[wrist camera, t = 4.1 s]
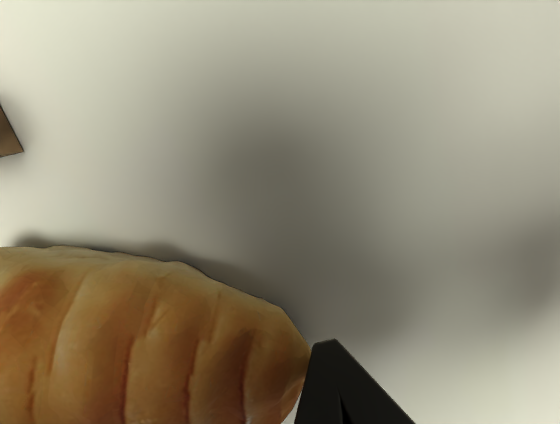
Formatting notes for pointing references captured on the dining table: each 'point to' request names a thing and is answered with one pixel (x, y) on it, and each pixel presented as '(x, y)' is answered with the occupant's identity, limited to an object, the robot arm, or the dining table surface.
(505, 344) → the dining table surface
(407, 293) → the dining table surface
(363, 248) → the dining table surface
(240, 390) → the pastry
